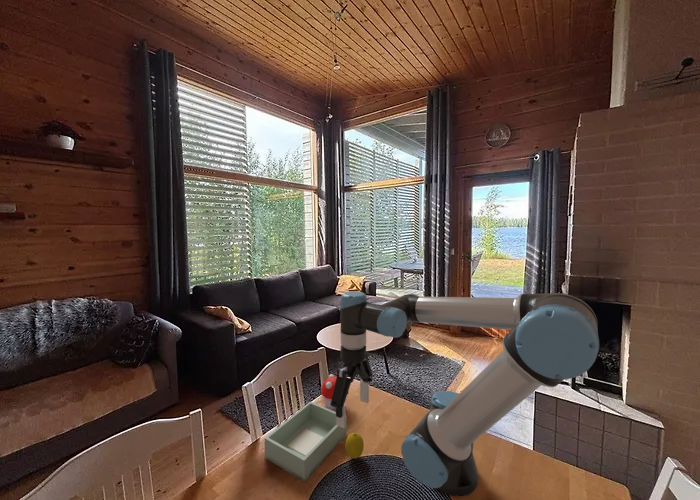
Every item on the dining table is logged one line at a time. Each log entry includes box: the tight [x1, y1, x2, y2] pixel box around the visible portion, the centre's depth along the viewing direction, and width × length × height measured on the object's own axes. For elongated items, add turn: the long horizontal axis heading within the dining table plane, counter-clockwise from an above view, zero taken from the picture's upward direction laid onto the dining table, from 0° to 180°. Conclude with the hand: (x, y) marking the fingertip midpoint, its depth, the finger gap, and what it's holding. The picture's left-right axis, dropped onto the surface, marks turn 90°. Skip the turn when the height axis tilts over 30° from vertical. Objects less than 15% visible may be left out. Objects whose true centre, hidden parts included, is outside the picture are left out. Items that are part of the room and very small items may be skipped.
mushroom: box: [320, 373, 349, 412], centre depth 117 cm, size 11×11×12 cm
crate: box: [264, 401, 348, 482], centre depth 97 cm, size 16×22×6 cm
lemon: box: [344, 432, 365, 459], centre depth 93 cm, size 6×6×8 cm
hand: (353, 412), depth 91 cm, fingers open, 13 cm apart
